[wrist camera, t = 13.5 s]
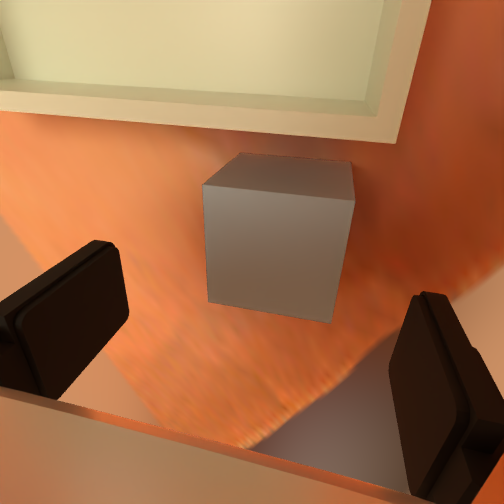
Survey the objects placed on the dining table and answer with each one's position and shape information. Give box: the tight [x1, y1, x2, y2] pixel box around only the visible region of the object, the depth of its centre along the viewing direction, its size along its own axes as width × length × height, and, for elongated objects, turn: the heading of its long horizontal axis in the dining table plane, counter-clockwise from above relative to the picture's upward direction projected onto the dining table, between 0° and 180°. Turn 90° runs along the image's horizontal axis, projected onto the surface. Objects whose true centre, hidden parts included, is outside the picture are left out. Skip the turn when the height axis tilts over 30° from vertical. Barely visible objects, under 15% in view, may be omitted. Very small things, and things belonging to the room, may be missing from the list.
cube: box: [202, 153, 355, 324], centre depth 14 cm, size 5×5×5 cm
